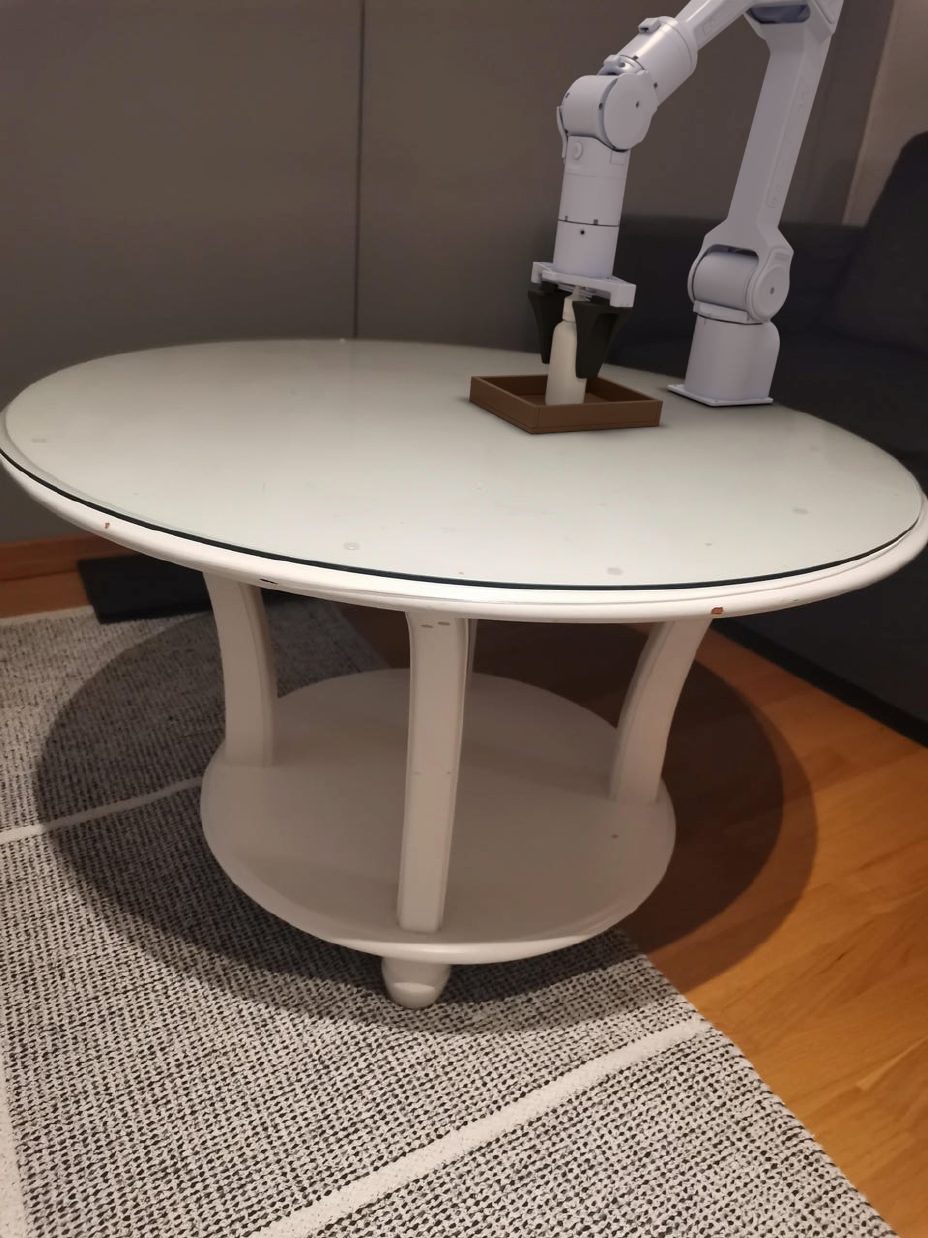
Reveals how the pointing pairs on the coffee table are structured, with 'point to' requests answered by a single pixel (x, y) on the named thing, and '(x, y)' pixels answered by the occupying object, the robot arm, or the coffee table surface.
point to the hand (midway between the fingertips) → (568, 370)
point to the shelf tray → (600, 409)
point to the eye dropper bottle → (565, 359)
